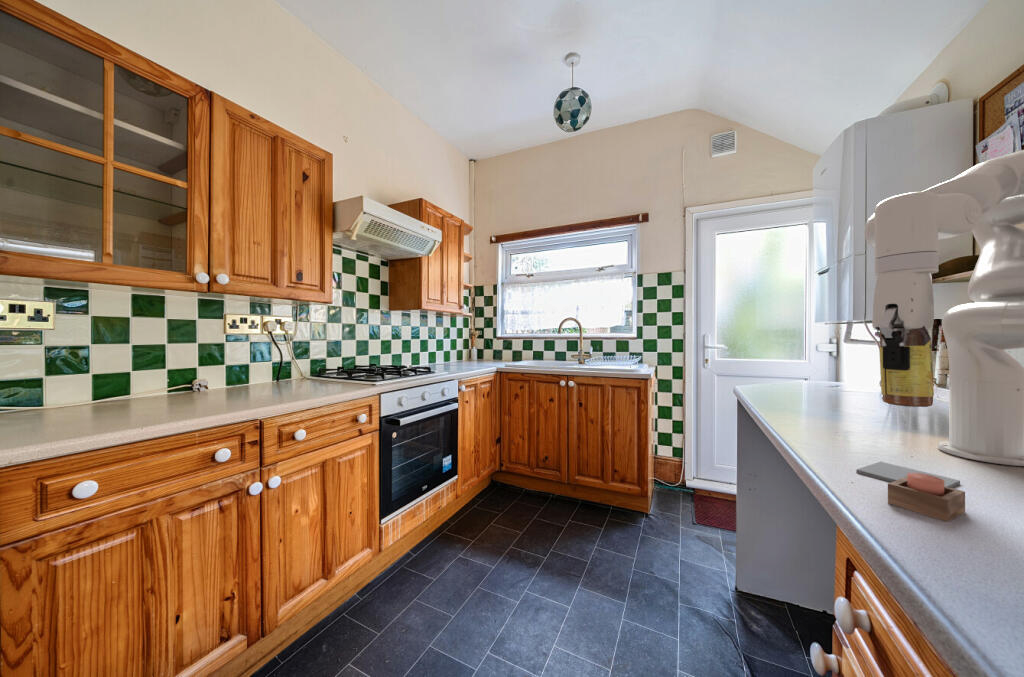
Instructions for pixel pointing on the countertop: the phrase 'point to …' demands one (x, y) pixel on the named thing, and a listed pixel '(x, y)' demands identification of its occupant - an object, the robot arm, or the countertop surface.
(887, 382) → the sauce bottle
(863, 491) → the countertop surface
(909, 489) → the box
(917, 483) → the button
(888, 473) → the mat
